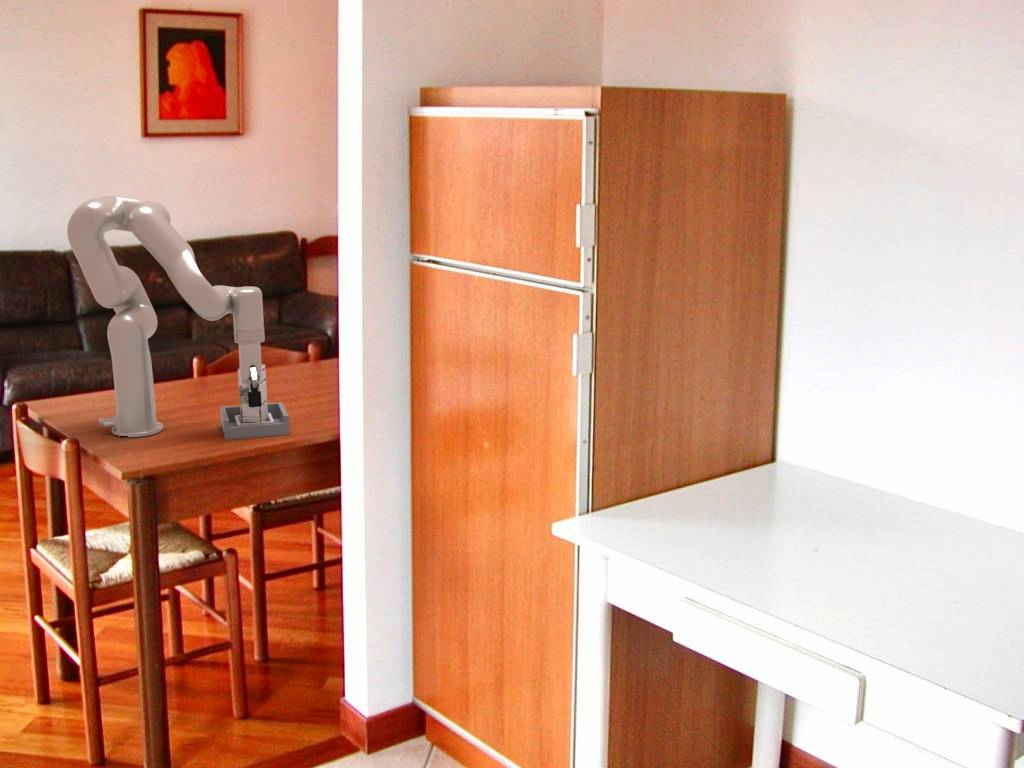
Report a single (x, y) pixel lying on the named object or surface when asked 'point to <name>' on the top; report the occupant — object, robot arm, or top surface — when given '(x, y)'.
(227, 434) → the walled box
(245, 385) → the syrup box
